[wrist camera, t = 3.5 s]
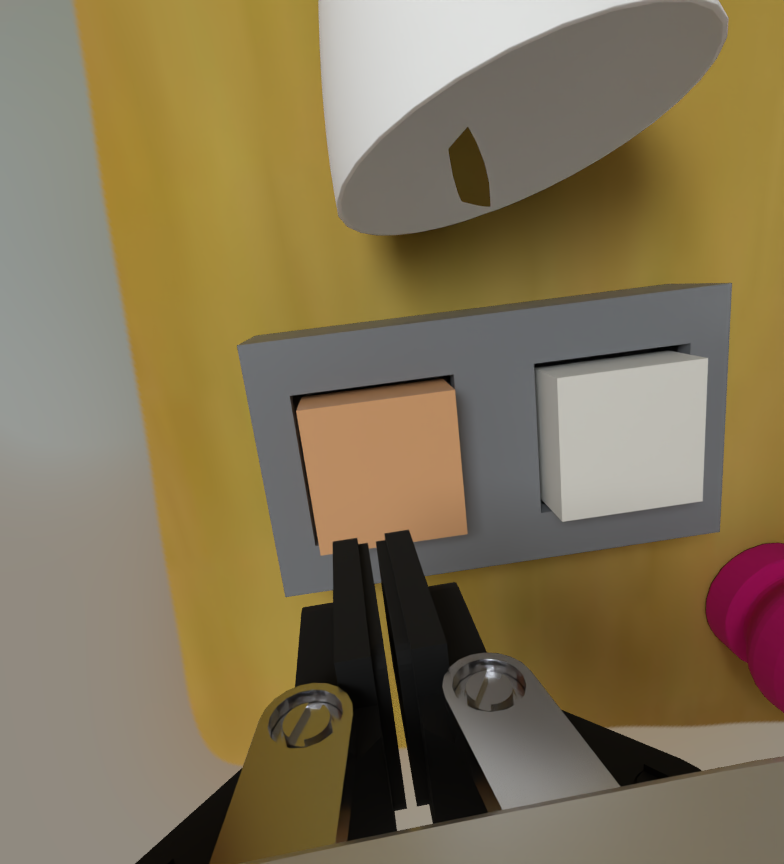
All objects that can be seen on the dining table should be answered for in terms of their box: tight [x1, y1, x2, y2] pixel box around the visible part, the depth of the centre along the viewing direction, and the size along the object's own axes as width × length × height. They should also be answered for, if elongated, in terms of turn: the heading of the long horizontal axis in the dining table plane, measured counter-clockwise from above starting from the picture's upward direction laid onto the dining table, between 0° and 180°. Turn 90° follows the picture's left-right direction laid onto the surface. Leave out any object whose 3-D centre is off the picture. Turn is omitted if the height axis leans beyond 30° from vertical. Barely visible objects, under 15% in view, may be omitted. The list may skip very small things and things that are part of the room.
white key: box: [534, 350, 708, 522], centre depth 21 cm, size 5×5×2 cm
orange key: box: [296, 378, 468, 556], centre depth 20 cm, size 5×5×2 cm
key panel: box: [237, 283, 732, 597], centre depth 23 cm, size 18×10×4 cm, turn 97°
